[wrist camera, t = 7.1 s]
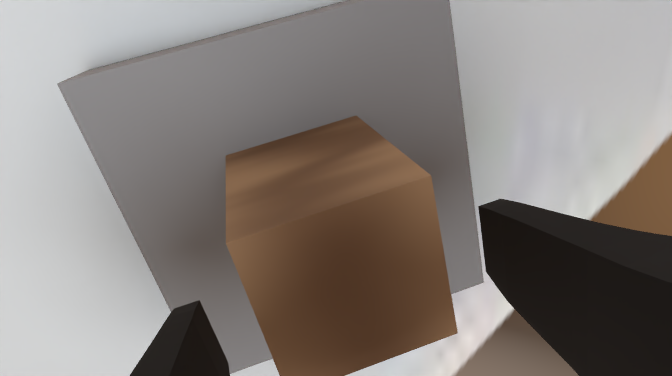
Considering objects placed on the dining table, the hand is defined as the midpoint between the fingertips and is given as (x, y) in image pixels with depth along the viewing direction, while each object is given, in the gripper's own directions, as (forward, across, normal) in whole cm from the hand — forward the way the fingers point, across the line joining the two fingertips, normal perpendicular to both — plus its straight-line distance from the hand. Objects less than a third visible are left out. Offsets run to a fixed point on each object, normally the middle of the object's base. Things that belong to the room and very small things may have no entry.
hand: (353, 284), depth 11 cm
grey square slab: (+8, 0, 0) cm, 8 cm away
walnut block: (+5, 0, 0) cm, 5 cm away
